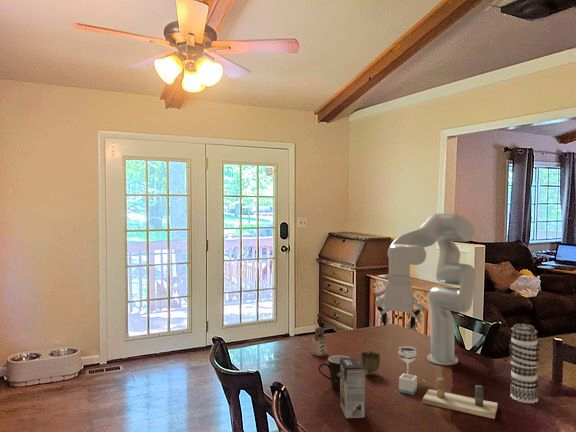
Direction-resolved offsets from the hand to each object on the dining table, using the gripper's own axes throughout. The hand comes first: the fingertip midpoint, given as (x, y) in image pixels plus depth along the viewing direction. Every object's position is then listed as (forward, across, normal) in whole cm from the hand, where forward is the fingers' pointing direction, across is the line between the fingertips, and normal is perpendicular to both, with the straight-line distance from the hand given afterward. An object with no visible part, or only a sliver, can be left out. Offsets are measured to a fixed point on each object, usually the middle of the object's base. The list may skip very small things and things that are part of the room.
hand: (398, 326), depth 161 cm
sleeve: (+22, +4, -2) cm, 23 cm away
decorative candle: (+22, +42, +6) cm, 47 cm away
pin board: (+22, +21, -8) cm, 32 cm away
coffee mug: (+23, -21, -7) cm, 32 cm away
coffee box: (+23, -11, -25) cm, 36 cm away
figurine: (+22, -38, +25) cm, 51 cm away
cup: (+22, -11, +9) cm, 27 cm away
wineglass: (+22, +3, +8) cm, 24 cm away
